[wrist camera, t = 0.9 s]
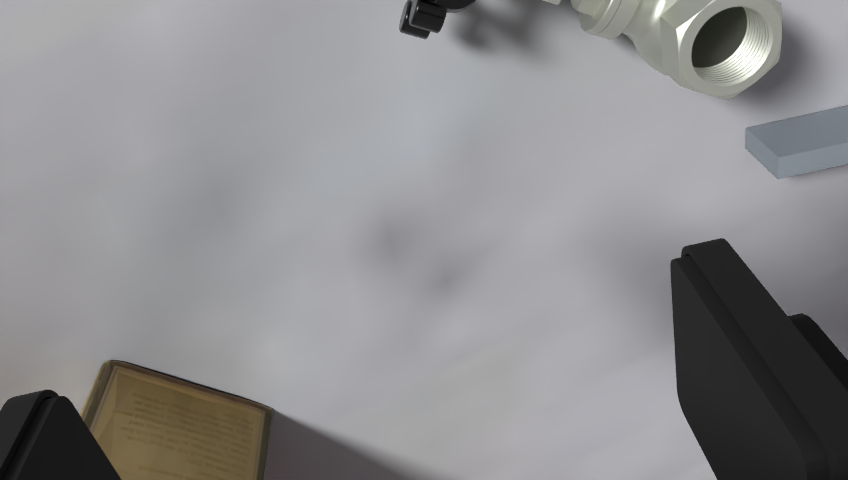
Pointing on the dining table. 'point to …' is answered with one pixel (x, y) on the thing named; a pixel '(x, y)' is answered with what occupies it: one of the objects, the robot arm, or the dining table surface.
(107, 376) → the food packaging
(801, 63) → the dining table surface
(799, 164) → the tray frame
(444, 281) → the dining table surface
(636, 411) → the dining table surface
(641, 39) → the valve
